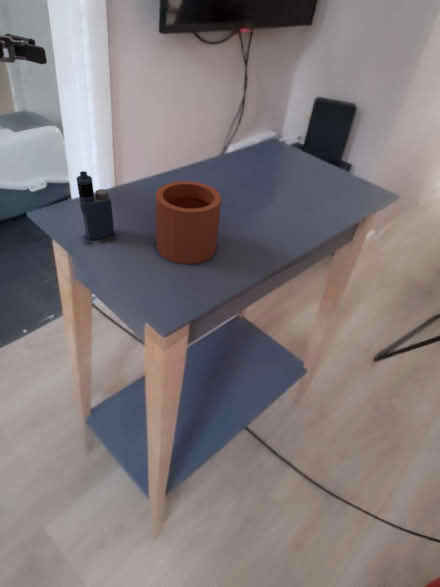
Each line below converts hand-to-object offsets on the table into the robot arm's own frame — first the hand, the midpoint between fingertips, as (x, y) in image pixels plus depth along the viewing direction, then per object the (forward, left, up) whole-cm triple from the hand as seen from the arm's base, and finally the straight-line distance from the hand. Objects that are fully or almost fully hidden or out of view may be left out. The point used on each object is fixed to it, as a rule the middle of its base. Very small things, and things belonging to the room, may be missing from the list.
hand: (20, 59), depth 57 cm
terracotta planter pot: (+7, -25, -26) cm, 37 cm away
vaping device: (+1, -11, -26) cm, 28 cm away
